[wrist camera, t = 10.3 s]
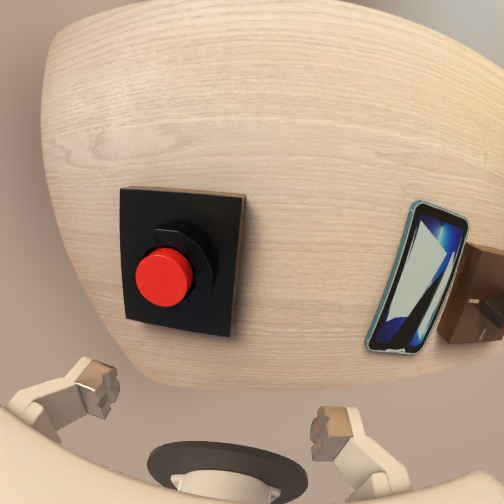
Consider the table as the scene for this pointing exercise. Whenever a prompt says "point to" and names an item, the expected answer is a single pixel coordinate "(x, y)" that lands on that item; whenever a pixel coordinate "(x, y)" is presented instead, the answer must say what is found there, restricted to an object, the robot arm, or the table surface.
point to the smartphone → (418, 279)
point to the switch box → (183, 253)
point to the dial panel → (473, 296)
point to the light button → (164, 277)
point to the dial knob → (494, 310)
